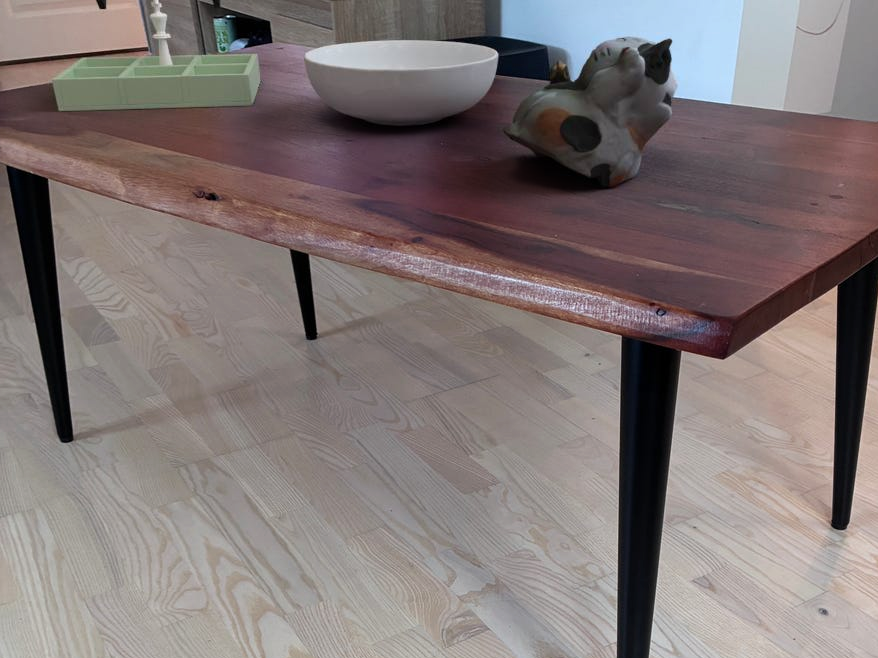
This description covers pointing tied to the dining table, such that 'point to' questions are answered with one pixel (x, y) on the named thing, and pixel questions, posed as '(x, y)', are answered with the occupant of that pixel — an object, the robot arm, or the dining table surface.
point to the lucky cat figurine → (600, 110)
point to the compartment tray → (158, 82)
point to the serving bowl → (401, 79)
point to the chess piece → (161, 33)
